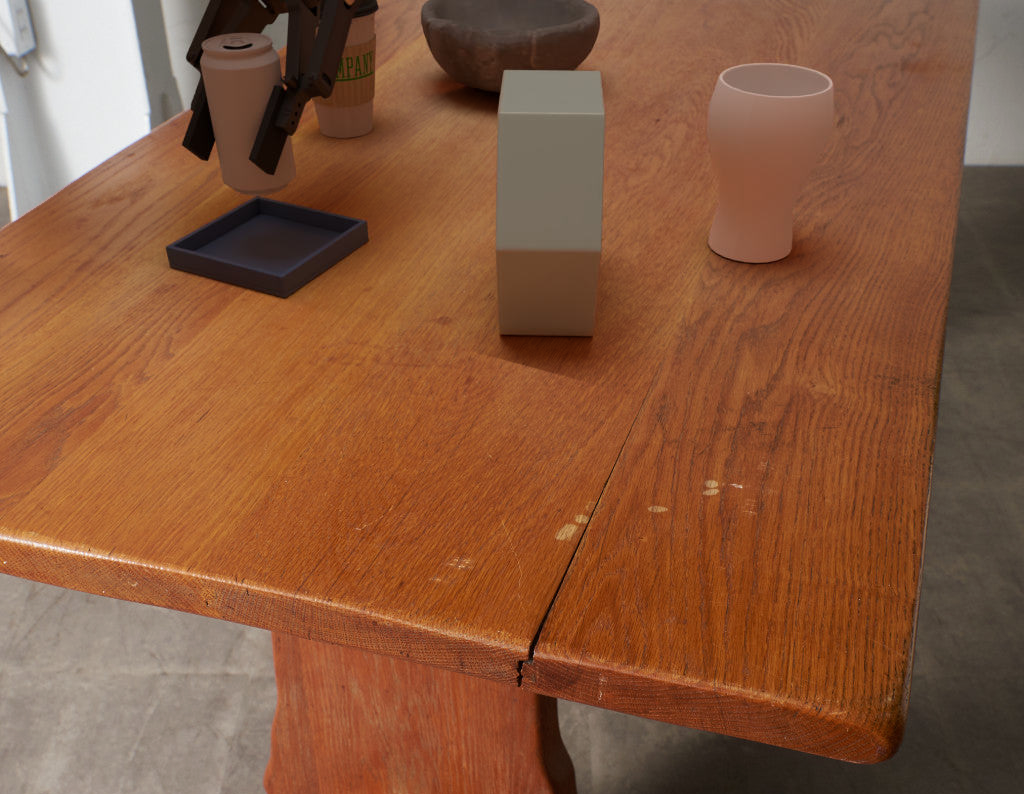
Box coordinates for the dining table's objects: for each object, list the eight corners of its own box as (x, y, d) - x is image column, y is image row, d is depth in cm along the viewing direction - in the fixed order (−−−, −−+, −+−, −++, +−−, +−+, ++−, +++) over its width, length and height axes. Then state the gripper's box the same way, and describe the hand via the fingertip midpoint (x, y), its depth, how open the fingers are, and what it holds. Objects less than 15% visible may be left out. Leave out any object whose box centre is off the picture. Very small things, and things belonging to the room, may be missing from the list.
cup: (829, 246, 95) (865, 79, 85) (762, 282, 89) (792, 108, 80) (737, 212, 101) (761, 53, 91) (669, 244, 95) (686, 78, 86)
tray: (169, 267, 92) (165, 246, 90) (260, 215, 101) (256, 195, 99) (285, 298, 87) (282, 277, 86) (369, 240, 96) (367, 220, 95)
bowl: (629, 100, 127) (636, 14, 121) (466, 127, 120) (463, 37, 114) (547, 52, 143) (548, -26, 137) (398, 73, 136) (392, -8, 130)
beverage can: (227, 202, 87) (198, 55, 79) (222, 175, 91) (194, 33, 84) (301, 194, 88) (280, 48, 80) (292, 167, 93) (272, 27, 85)
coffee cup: (291, 139, 117) (271, -3, 107) (323, 112, 124) (307, -23, 114) (371, 146, 115) (358, 3, 105) (399, 118, 122) (389, -19, 113)
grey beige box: (503, 341, 90) (506, 101, 88) (589, 342, 90) (595, 102, 88) (494, 327, 74) (497, 31, 71) (600, 328, 73) (607, 31, 71)
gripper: (432, -54, 86) (344, 200, 85) (251, -74, 93) (168, 161, 92) (394, -118, 79) (297, 158, 78) (201, -134, 86) (110, 120, 85)
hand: (227, 159), depth 85 cm, fingers closed on beverage can, 6 cm apart
